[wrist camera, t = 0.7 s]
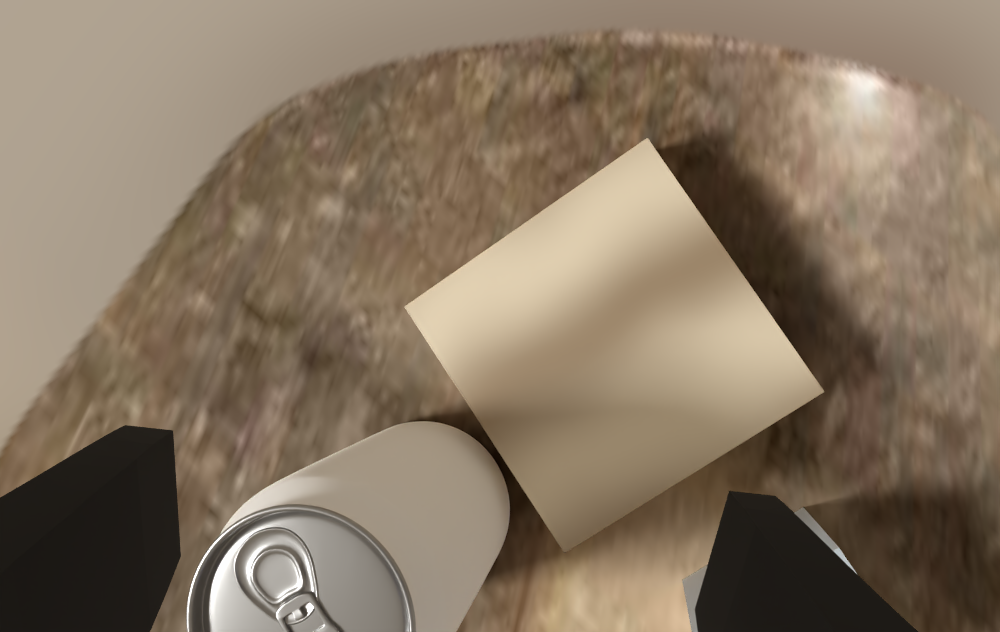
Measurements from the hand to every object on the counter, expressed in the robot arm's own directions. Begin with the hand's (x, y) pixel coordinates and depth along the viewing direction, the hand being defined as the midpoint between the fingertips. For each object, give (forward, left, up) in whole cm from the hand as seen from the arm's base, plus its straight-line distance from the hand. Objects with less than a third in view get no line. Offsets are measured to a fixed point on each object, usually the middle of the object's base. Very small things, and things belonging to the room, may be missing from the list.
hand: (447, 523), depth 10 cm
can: (-1, +7, -19) cm, 21 cm away
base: (+1, -2, -19) cm, 19 cm away
